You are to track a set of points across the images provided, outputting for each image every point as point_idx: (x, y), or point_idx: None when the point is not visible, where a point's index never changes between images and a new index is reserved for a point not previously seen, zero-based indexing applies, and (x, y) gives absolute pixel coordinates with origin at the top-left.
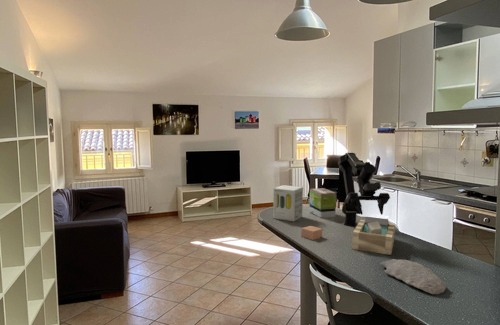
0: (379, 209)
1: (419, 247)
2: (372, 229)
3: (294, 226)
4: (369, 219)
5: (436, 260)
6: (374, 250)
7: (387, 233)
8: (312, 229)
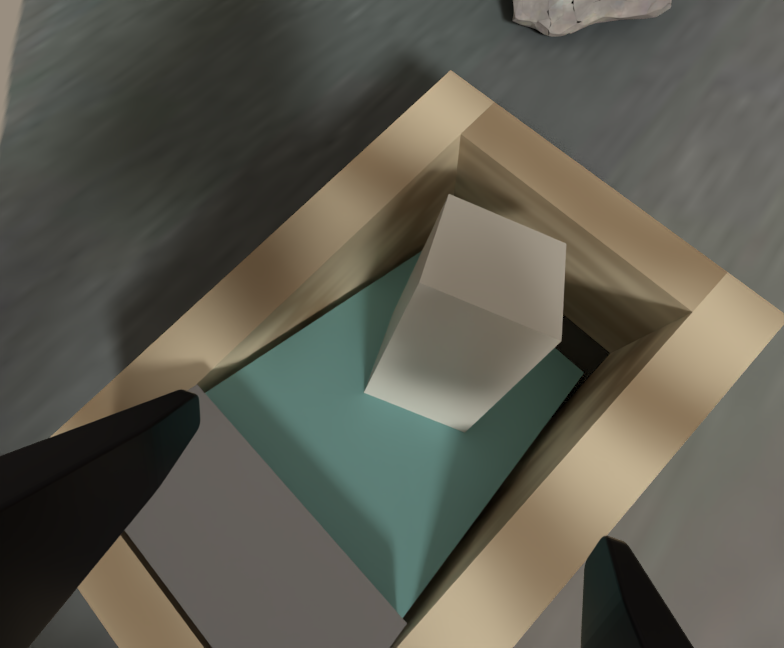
0: (79, 571)
1: (123, 241)
2: (551, 240)
3: None
4: (304, 642)
5: (236, 39)
6: None
7: (404, 177)
8: None
